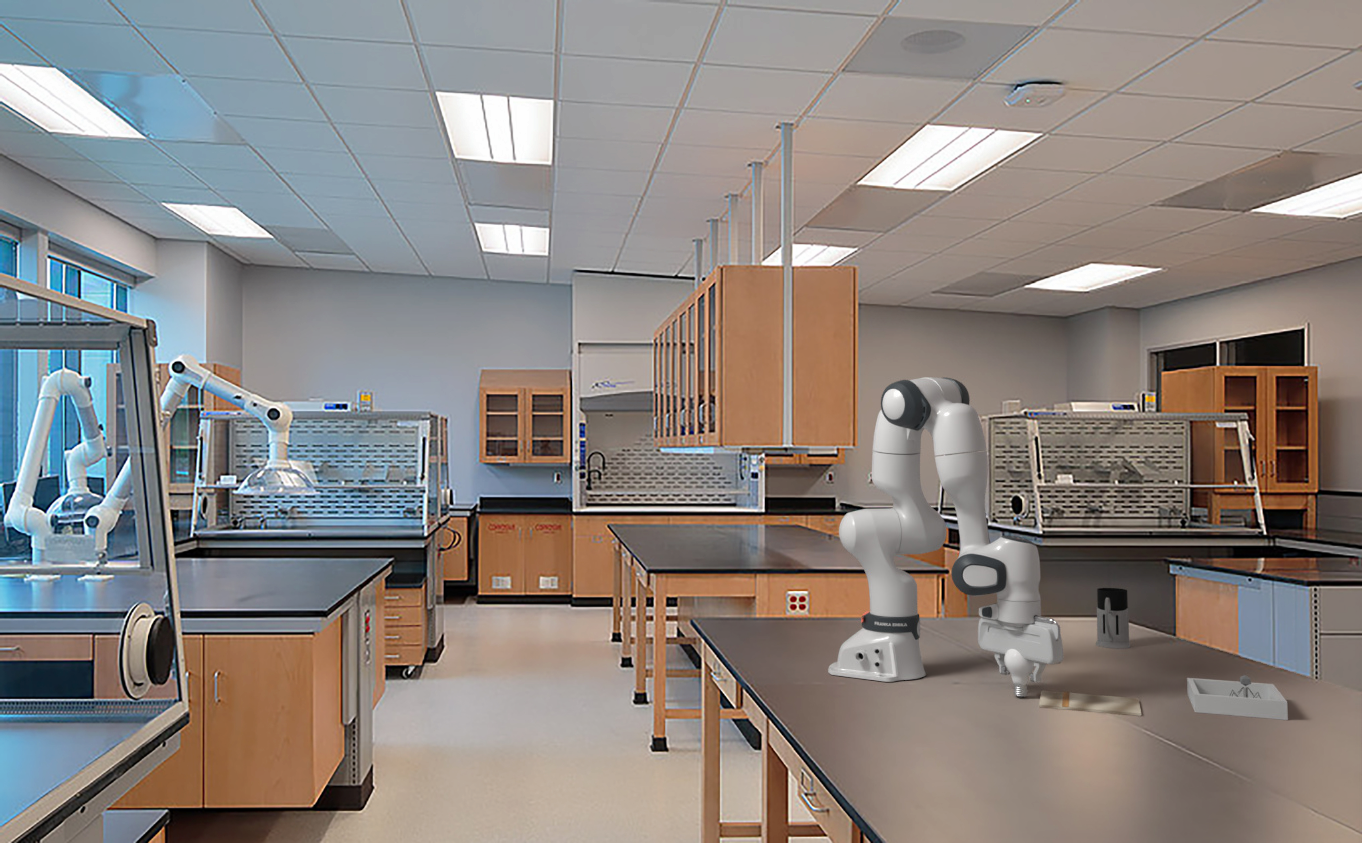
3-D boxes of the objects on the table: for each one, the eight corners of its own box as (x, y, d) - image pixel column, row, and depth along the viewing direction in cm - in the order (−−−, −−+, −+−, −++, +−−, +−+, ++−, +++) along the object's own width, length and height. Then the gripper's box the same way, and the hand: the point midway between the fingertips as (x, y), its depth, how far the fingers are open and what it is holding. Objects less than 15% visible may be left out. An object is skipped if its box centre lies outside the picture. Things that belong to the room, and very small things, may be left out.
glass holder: (1133, 644, 268) (1132, 588, 268) (1125, 653, 256) (1123, 595, 256) (1098, 641, 272) (1097, 586, 273) (1089, 649, 260) (1088, 592, 261)
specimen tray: (1194, 712, 197) (1194, 694, 197) (1187, 694, 212) (1187, 677, 212) (1287, 719, 191) (1287, 701, 191) (1273, 700, 206) (1273, 683, 206)
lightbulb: (1038, 701, 206) (1037, 648, 206) (1006, 700, 207) (1005, 647, 207) (1034, 694, 212) (1033, 643, 212) (1003, 693, 213) (1002, 642, 214)
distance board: (1038, 706, 201) (1038, 703, 202) (1041, 692, 213) (1041, 689, 214) (1141, 715, 194) (1141, 712, 194) (1138, 700, 206) (1138, 697, 206)
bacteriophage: (1227, 710, 199) (1227, 677, 199) (1225, 701, 206) (1224, 669, 206) (1267, 714, 196) (1267, 680, 196) (1263, 705, 203) (1263, 672, 203)
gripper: (1069, 618, 203) (1071, 685, 202) (993, 605, 220) (994, 667, 220) (1048, 620, 200) (1050, 689, 199) (972, 607, 217) (973, 670, 217)
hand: (1020, 677), depth 210 cm, fingers open, 7 cm apart
